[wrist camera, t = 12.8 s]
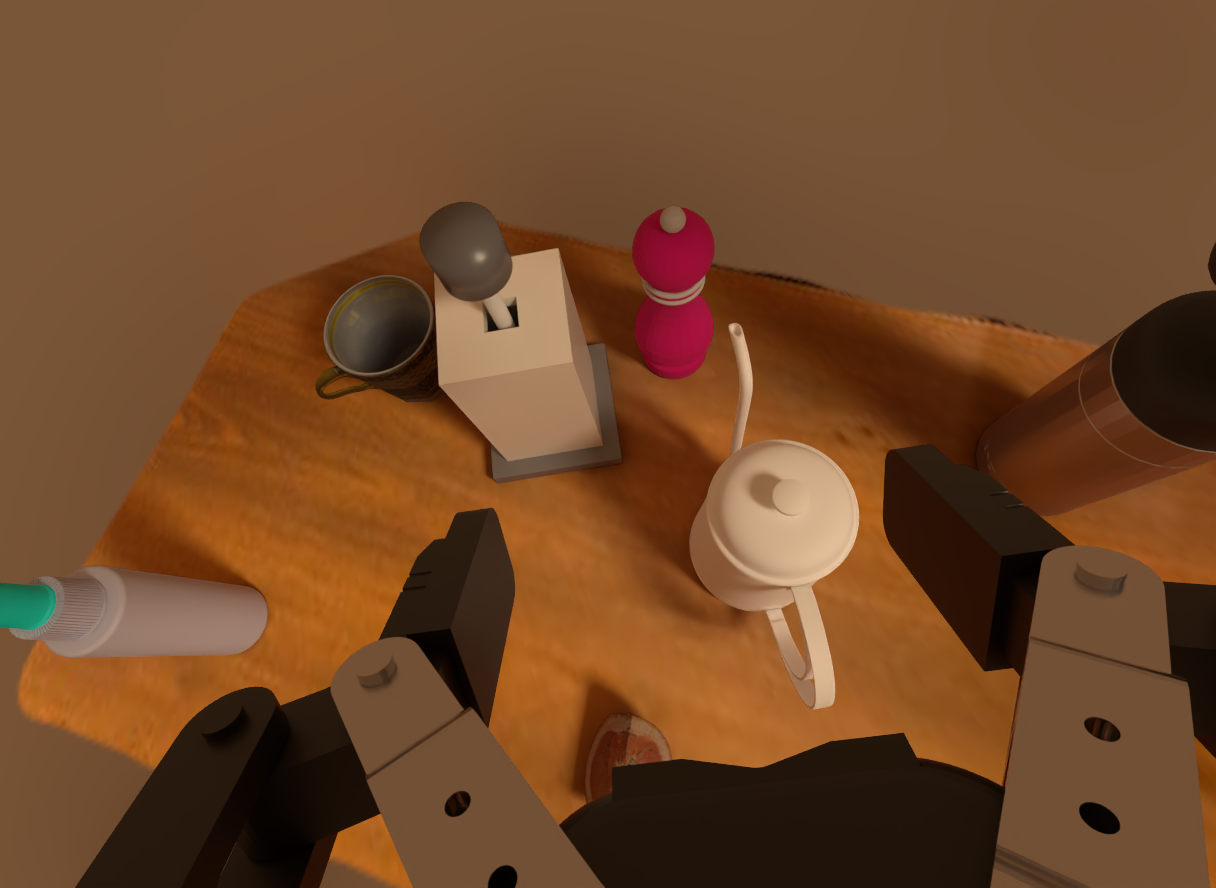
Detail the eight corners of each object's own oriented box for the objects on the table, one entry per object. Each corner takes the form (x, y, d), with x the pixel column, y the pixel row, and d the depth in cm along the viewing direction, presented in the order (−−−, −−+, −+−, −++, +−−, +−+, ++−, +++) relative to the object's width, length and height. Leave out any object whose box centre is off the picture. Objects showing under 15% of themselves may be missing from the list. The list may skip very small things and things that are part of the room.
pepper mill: (643, 315, 60) (628, 164, 41) (715, 322, 59) (733, 171, 40) (631, 379, 58) (610, 251, 39) (705, 388, 57) (720, 260, 38)
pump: (561, 362, 52) (494, 195, 33) (567, 407, 51) (500, 260, 32) (513, 370, 53) (418, 210, 33) (517, 415, 51) (420, 275, 32)
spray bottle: (276, 585, 55) (36, 549, 34) (264, 654, 53) (1, 659, 33) (216, 586, 56) (-56, 550, 35) (201, 654, 54) (-95, 659, 33)
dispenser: (604, 341, 60) (575, 215, 42) (623, 463, 55) (598, 378, 38) (488, 361, 60) (412, 245, 43) (497, 483, 56) (417, 409, 39)
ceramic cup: (430, 313, 63) (387, 254, 54) (491, 370, 60) (456, 318, 51) (336, 396, 61) (274, 351, 52) (394, 459, 58) (339, 423, 49)
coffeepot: (774, 400, 56) (819, 285, 38) (858, 682, 47) (966, 704, 30) (660, 423, 56) (653, 321, 39) (723, 707, 48) (751, 742, 30)
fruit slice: (599, 700, 49) (591, 706, 44) (680, 718, 48) (681, 726, 43) (578, 814, 47) (568, 832, 42) (663, 836, 45) (662, 857, 41)
